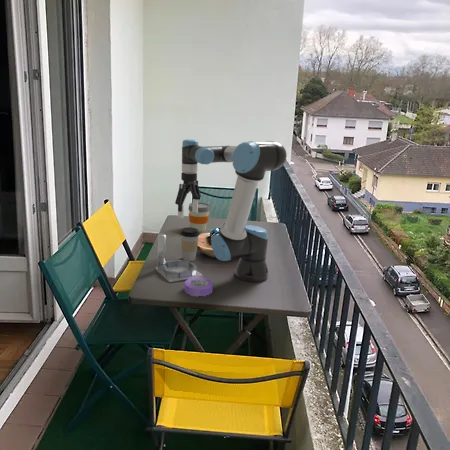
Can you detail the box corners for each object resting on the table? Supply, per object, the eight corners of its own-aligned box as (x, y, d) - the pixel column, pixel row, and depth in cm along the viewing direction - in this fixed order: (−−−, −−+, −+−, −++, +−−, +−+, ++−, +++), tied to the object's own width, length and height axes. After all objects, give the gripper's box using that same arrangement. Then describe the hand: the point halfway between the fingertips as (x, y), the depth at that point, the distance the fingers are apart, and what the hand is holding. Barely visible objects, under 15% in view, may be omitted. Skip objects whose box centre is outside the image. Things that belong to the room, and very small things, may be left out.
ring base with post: (202, 276, 206) (204, 241, 201) (169, 282, 198) (170, 245, 193) (186, 264, 219) (188, 230, 214) (155, 269, 211) (156, 234, 207)
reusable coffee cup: (186, 231, 267) (187, 207, 262) (188, 225, 279) (189, 201, 274) (207, 233, 267) (209, 208, 262) (209, 227, 279) (210, 203, 274)
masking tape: (184, 296, 187) (184, 288, 185) (184, 284, 198) (185, 276, 197) (212, 297, 188) (213, 289, 186) (211, 285, 199) (212, 277, 198)
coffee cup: (194, 263, 221) (195, 234, 216) (176, 260, 223) (177, 231, 219) (201, 257, 229) (202, 228, 225) (184, 254, 232) (185, 225, 228)
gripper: (195, 168, 232) (194, 208, 238) (168, 174, 211) (167, 219, 217) (208, 169, 229) (206, 210, 235) (182, 176, 208) (181, 221, 214)
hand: (188, 214), depth 226 cm, fingers open, 13 cm apart
